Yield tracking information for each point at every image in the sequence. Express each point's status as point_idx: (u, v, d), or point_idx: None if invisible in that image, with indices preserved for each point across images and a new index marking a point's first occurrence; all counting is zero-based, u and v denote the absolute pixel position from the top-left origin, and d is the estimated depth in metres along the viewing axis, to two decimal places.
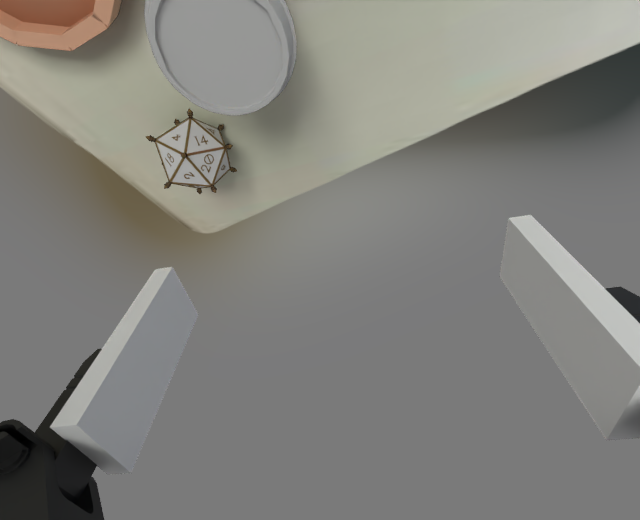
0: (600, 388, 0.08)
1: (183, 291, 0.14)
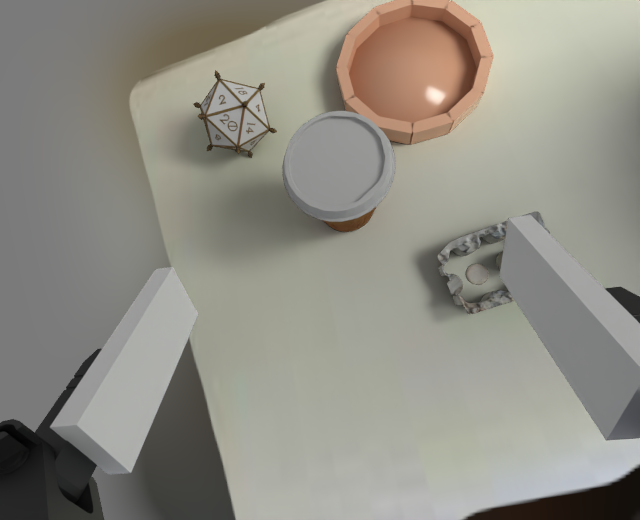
0: (600, 388, 0.08)
1: (183, 291, 0.14)
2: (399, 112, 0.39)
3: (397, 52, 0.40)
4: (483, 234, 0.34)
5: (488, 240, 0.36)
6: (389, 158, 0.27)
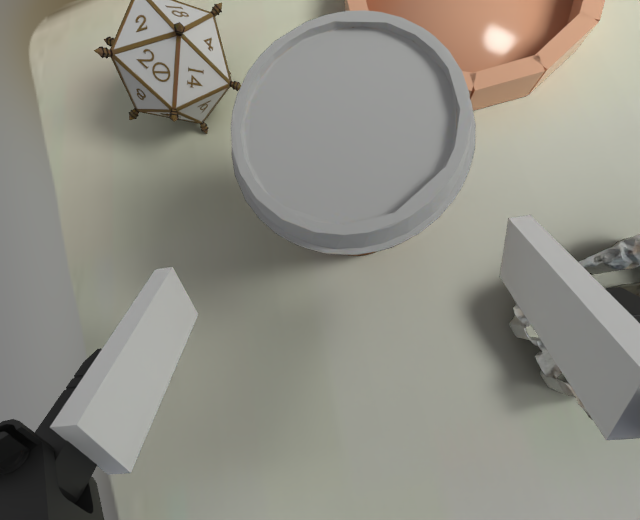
0: (600, 388, 0.08)
1: (183, 291, 0.14)
2: None
3: None
4: (593, 264, 0.19)
5: (592, 270, 0.21)
6: (469, 113, 0.12)
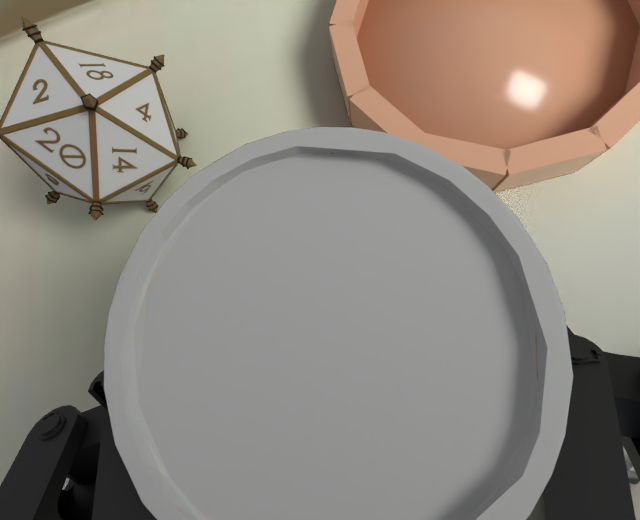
0: None
1: None
2: (467, 123, 0.18)
3: None
4: None
5: None
6: (565, 355, 0.06)
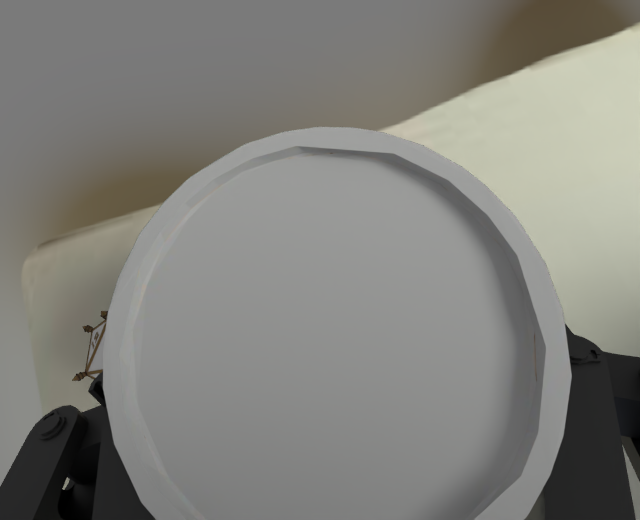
0: None
1: None
2: None
3: None
4: None
5: None
6: (564, 355, 0.06)
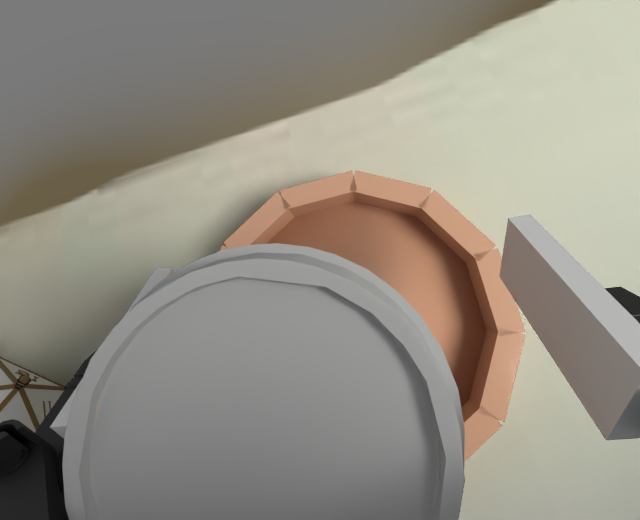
0: (600, 388, 0.08)
1: None
2: None
3: None
4: None
5: None
6: (460, 462, 0.07)
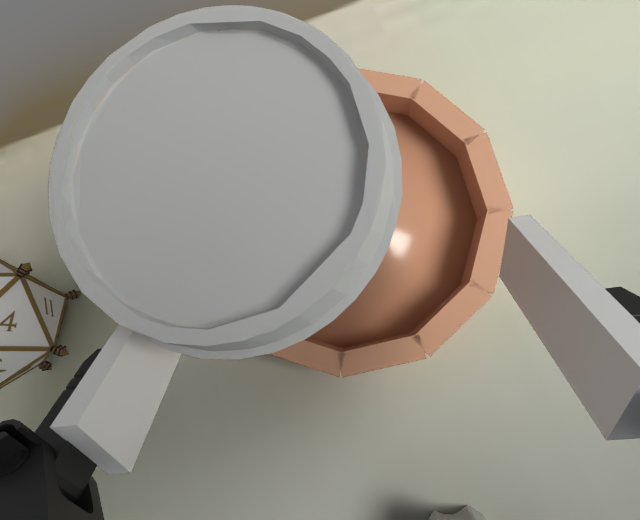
0: (600, 388, 0.08)
1: None
2: None
3: None
4: None
5: None
6: (383, 150, 0.08)
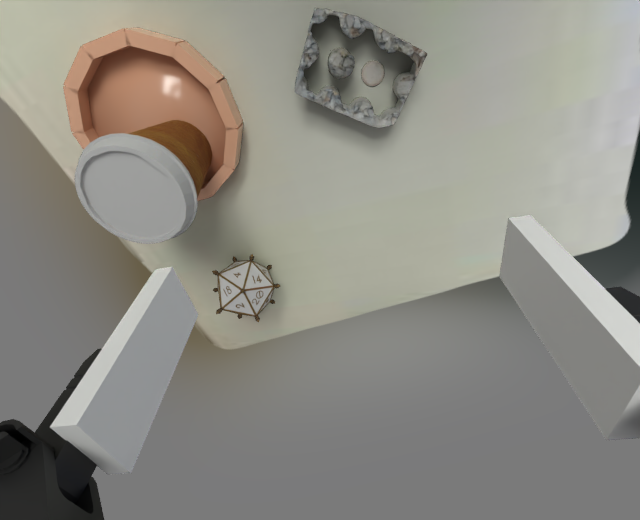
0: (600, 388, 0.08)
1: (183, 291, 0.14)
2: (210, 136, 0.36)
3: None
4: (347, 109, 0.33)
5: None
6: (109, 145, 0.25)
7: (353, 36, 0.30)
